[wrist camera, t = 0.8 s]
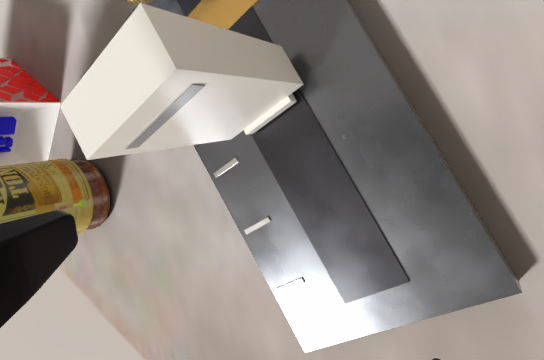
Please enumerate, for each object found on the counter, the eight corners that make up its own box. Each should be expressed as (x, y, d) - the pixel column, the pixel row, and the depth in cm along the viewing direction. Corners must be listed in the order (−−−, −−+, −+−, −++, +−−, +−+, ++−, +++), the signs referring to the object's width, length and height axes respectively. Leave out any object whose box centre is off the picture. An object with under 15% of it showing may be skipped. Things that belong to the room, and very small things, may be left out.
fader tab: (312, 90, 18) (181, 77, 10) (240, 142, 21) (90, 167, 13) (285, 43, 18) (135, -6, 10) (217, 101, 21) (56, 99, 13)
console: (518, 280, 17) (531, 330, 13) (312, 341, 23) (282, 386, 19) (267, -134, 19) (218, -192, 15) (140, 22, 25) (83, 8, 21)
